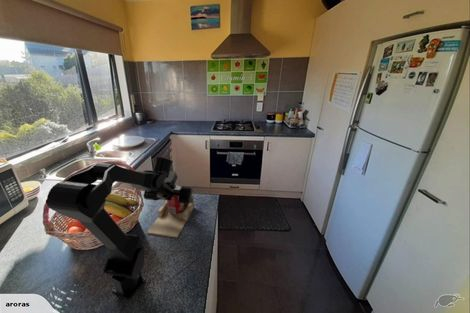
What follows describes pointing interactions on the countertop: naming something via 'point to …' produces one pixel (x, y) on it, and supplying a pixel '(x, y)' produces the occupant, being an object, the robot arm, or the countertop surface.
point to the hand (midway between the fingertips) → (175, 197)
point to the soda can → (175, 203)
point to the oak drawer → (171, 221)
